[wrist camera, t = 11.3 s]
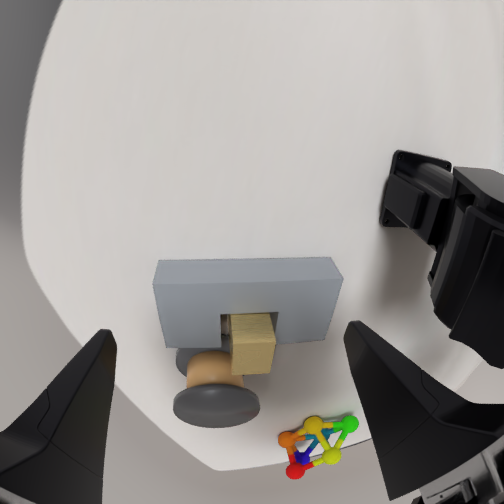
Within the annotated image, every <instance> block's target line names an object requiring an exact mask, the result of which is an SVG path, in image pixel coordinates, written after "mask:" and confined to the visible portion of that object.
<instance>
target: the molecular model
mask: <svg viewBox="0 0 504 504" xmlns="http://www.w3.org/2000/svg"><path fill="white" fill-rule="evenodd" d="M358 425H359V421H358V419H357V418H356V417H355V416H351V415H350V416H346V417H344V418H343V419H342V421H341V422H323V421H322V420H321V419H320V418H319V417H316V416H313V417H309V418H308V419H307V420H306V421H305V423H304V428H302V429H300V430H299V431H297V432H295V433H292V432H283V433H282V434H280V436H279V437H278V443H279V445H280V446H281V447H283V448H286V450H287V453H288V457H289V461H290V465H289V466H288V467H287V468H286V475H287V476H288V477H289V478H290V479H299V478H301V477H302V476H303V475H304V473H305V470H307V469H310V468H312V467H314V466H317V465H319V464H321V463H324V462H325V463H326V464H335V463H337V462H338V461H339V460H340V459H341V451H340V450H339V449H340V447H341V445H342V443H343V441H344V440H345V438H346V436H347V434H348V433H351V432H354V431H355V430H356V429H357V428H358ZM327 428H331V429H327ZM341 430H342V433H341V435H340V436H339V438H338V440H337V442H336V444H335V445H334V447H331V446H330V444H329V442H328V439H329V437H330V434H333V433H336V432H338V431H341ZM305 433H309V434H307V435H303V434H305ZM309 439H314V441H313V442H312V443H311V444H310V446H309V447H308V448H307V450H306V451H305V452H299V451H298V450H297V448H296V447H295V445H294V444H295V443H296V441H302V440H309ZM318 443H321V445H322V447H323V448H324V450H325V451H324V452H323V454H322V457H321V458H319V459H317V460H314V461H312V462H310V457H309V454H310V453H311V452H312V450H313V449H314V448H315V447H316V445H317V444H318ZM294 455H295V456H294ZM309 462H310V463H309Z"/></svg>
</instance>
